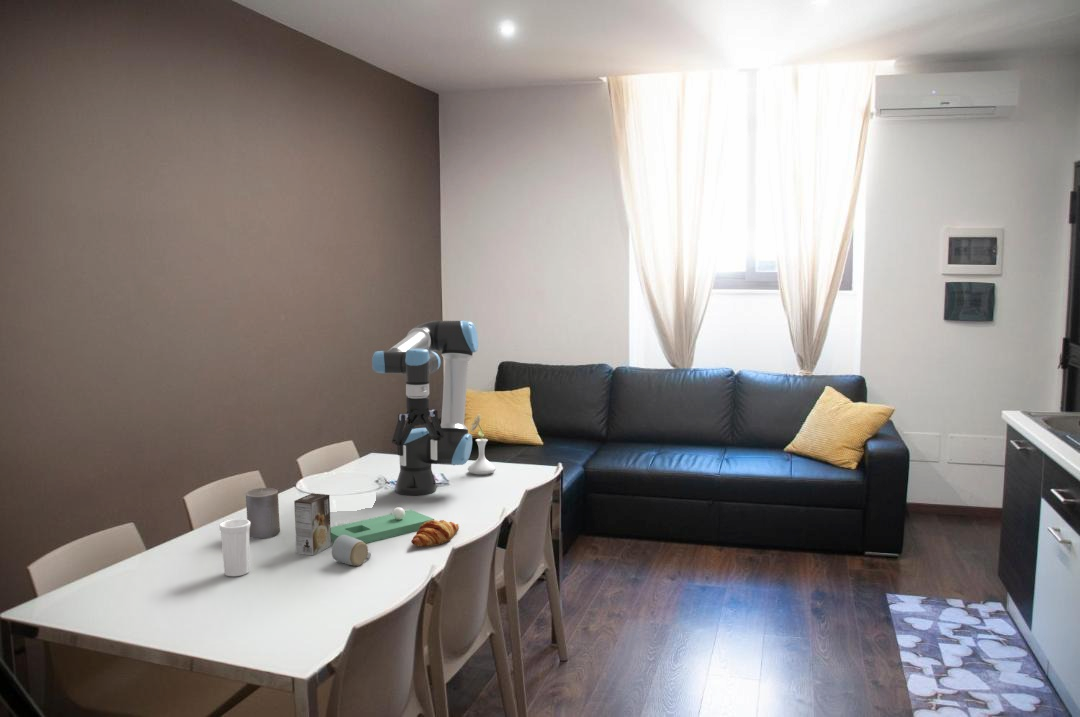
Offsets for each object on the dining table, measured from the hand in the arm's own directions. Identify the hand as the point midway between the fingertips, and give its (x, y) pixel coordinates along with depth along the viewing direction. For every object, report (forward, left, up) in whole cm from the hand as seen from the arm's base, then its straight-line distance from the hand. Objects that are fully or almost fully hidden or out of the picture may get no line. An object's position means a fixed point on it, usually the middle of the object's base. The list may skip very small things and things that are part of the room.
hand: (418, 462), depth 280 cm
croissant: (+6, +19, -21) cm, 29 cm away
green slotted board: (+15, 0, -20) cm, 25 cm away
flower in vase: (-55, -38, -20) cm, 70 cm away
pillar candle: (+44, -22, -20) cm, 53 cm away
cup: (+64, +6, -20) cm, 67 cm away
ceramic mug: (+35, +19, -20) cm, 45 cm away
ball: (+8, 0, -16) cm, 18 cm away
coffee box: (+39, +2, -20) cm, 44 cm away
